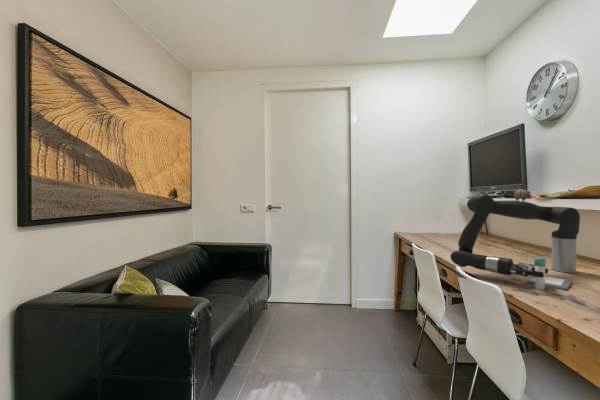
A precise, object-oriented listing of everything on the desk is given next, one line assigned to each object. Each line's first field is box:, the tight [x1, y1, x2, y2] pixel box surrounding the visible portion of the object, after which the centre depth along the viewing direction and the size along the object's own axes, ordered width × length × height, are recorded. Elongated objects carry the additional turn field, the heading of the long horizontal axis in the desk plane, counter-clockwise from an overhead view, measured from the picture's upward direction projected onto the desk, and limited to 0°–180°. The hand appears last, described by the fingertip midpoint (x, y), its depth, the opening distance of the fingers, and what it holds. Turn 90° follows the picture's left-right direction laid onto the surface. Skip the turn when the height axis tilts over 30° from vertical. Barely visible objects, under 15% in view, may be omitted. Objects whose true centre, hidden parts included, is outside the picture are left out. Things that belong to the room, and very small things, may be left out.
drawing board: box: [525, 275, 573, 291], centre depth 118 cm, size 16×13×1 cm
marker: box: [533, 256, 547, 291], centre depth 111 cm, size 4×4×13 cm
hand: (545, 273), depth 110 cm, fingers open, 8 cm apart
